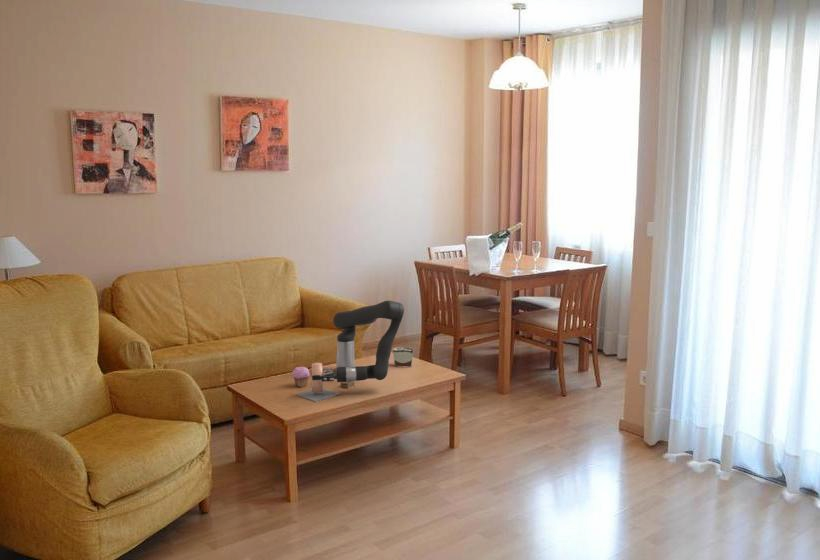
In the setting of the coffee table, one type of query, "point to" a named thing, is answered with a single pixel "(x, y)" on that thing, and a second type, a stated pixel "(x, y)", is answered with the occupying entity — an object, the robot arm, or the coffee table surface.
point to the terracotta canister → (317, 384)
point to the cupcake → (301, 376)
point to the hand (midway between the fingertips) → (311, 376)
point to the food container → (403, 356)
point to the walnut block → (347, 384)
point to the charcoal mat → (317, 395)
